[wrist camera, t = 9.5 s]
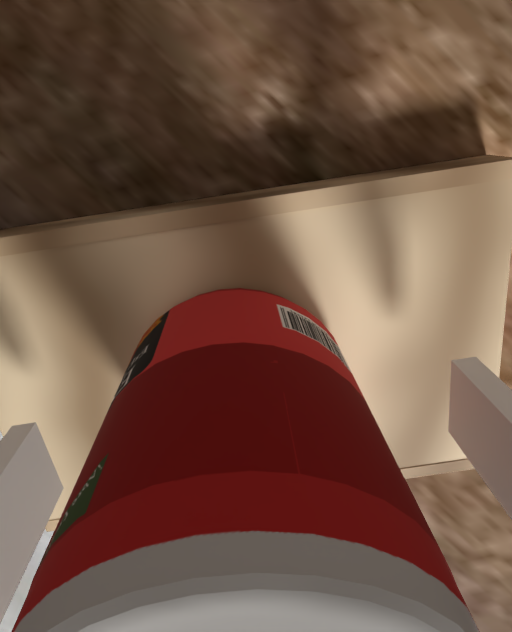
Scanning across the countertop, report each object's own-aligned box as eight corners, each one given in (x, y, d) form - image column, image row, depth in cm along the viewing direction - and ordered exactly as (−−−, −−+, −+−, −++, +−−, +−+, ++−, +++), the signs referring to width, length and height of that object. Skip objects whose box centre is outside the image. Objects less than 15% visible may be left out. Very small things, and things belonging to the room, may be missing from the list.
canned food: (118, 286, 15) (-108, 603, 5) (345, 273, 15) (561, 551, 5) (149, 459, 18) (47, 871, 8) (338, 446, 18) (467, 829, 8)
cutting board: (62, 496, 21) (46, 531, 19) (-48, 236, 16) (-85, 250, 14) (468, 436, 21) (491, 466, 19) (487, 154, 16) (520, 158, 14)
